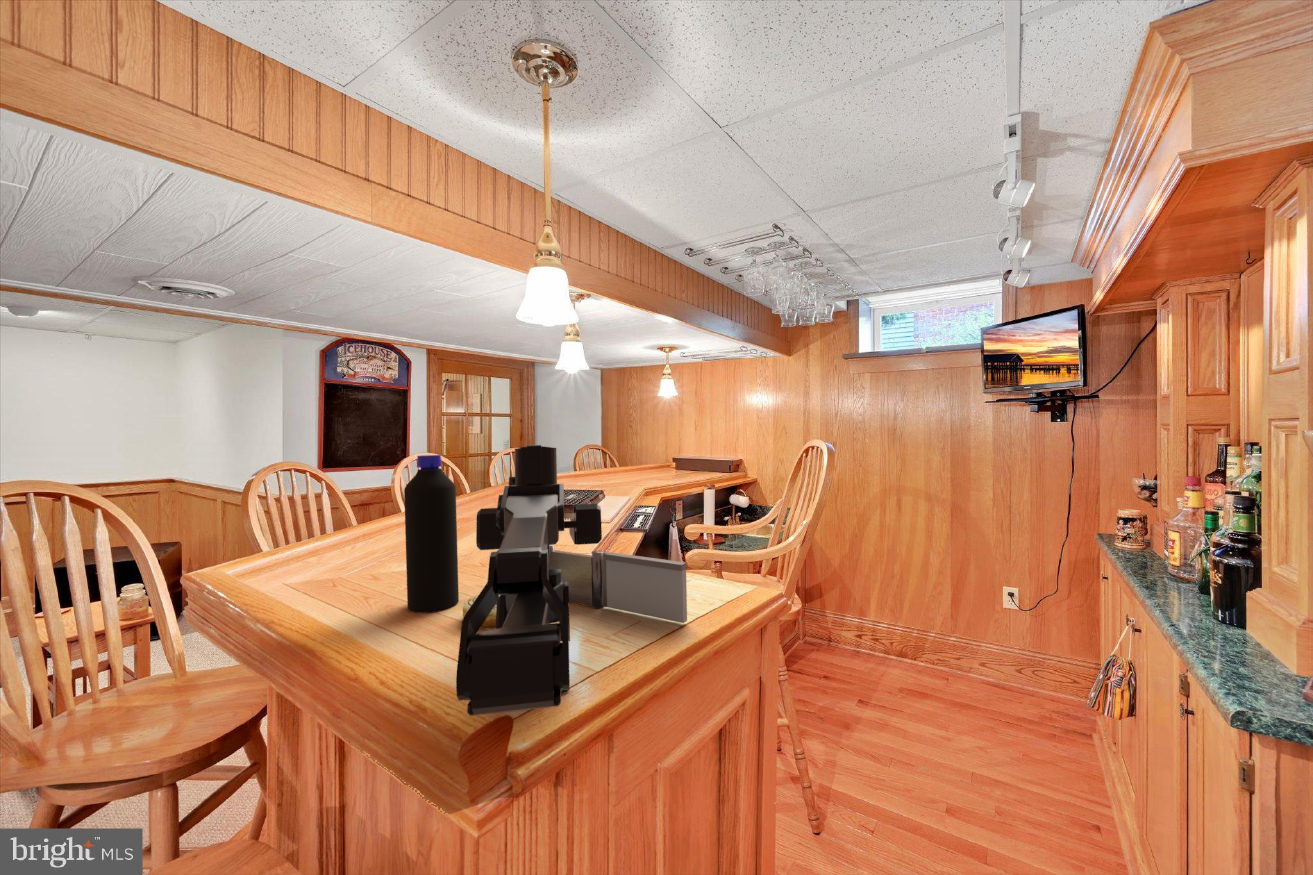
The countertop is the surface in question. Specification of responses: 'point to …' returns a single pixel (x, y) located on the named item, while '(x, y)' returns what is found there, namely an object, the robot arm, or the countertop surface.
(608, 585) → the gate leaf
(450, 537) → the bottle
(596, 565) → the gate frame
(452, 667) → the countertop surface
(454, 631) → the countertop surface
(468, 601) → the decorated donut
